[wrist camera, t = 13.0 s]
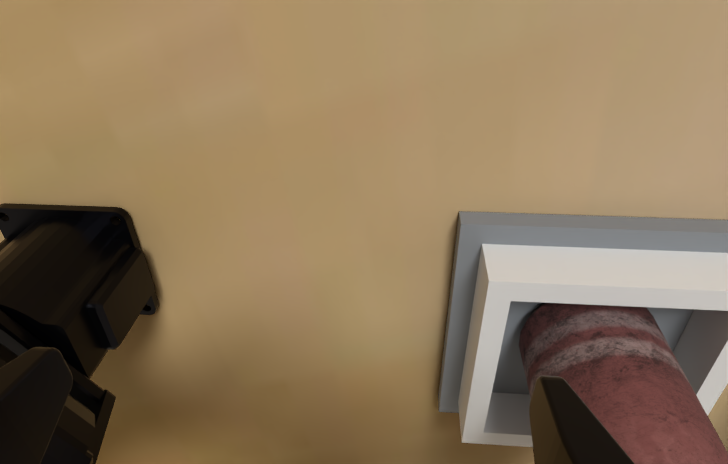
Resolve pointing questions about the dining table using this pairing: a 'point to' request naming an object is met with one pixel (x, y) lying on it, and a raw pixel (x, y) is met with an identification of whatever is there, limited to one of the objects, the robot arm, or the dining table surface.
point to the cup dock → (575, 302)
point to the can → (622, 379)
